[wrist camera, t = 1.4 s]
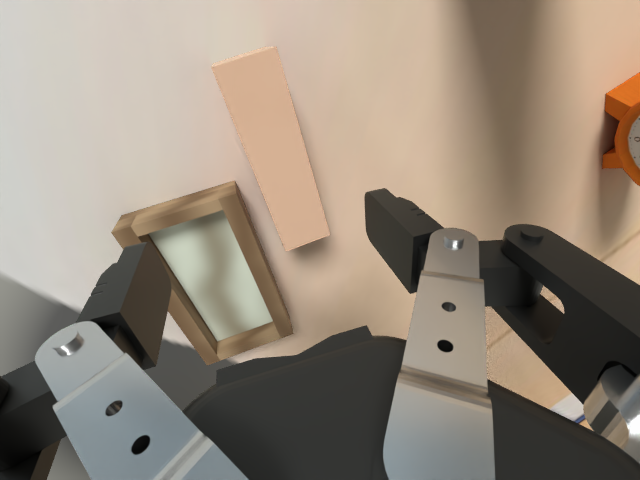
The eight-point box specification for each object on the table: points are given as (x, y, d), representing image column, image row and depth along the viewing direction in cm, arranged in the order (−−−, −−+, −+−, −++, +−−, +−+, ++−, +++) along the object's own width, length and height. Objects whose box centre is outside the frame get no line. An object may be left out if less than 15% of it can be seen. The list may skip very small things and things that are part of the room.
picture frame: (234, 180, 28) (236, 193, 25) (288, 314, 38) (293, 333, 35) (121, 215, 27) (111, 232, 24) (208, 344, 37) (207, 365, 34)
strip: (264, 46, 23) (276, 46, 18) (313, 205, 31) (330, 234, 26) (213, 63, 23) (211, 67, 18) (275, 219, 31) (285, 251, 26)
